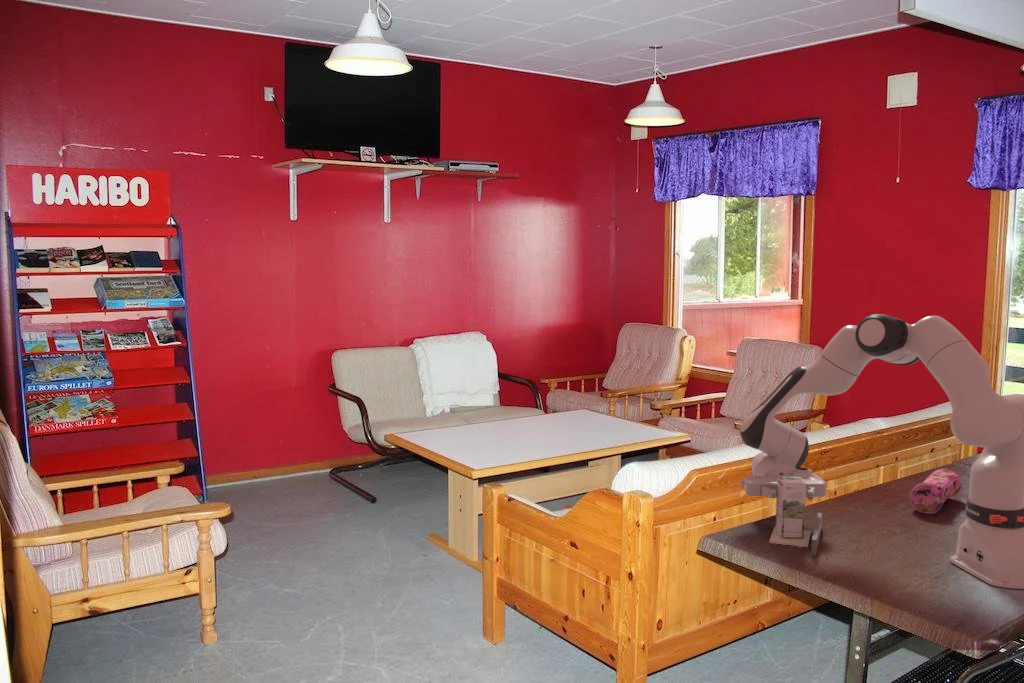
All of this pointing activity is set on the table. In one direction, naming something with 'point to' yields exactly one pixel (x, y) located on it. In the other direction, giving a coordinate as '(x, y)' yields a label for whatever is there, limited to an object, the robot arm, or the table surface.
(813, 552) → the low wall
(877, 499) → the table surface
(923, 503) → the pencil case
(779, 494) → the syrup box
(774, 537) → the pad
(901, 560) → the table surface
